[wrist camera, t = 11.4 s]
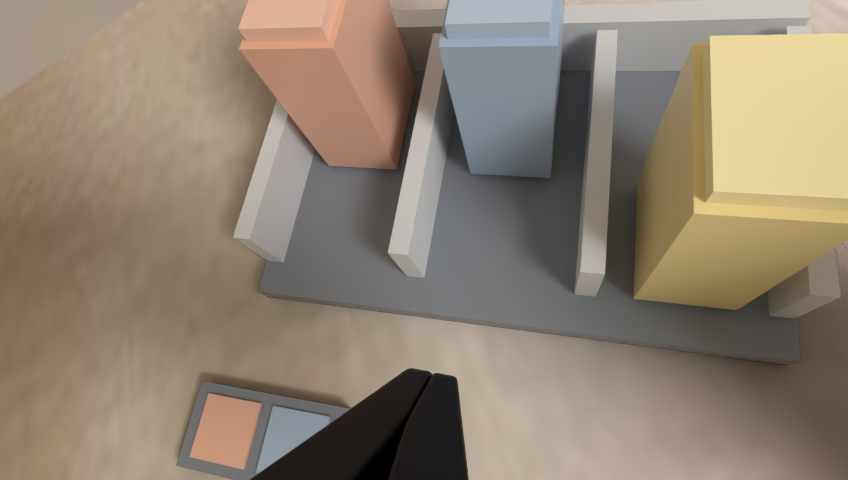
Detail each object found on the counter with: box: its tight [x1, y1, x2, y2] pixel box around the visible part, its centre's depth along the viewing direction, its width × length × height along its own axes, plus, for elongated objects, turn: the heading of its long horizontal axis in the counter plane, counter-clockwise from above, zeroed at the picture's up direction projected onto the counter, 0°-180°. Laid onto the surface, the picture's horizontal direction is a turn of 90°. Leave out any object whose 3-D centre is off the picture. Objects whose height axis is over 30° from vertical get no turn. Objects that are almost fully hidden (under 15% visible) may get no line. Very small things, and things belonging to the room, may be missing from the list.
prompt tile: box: [176, 381, 350, 480], centre depth 21 cm, size 7×4×1 cm, turn 80°
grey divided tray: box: [233, 0, 841, 365], centre depth 21 cm, size 22×14×4 cm, turn 80°
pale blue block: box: [439, 0, 565, 178], centre depth 19 cm, size 4×5×9 cm
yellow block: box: [634, 33, 848, 310], centre depth 15 cm, size 4×5×9 cm
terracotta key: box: [238, 0, 416, 170], centre depth 21 cm, size 4×5×9 cm
